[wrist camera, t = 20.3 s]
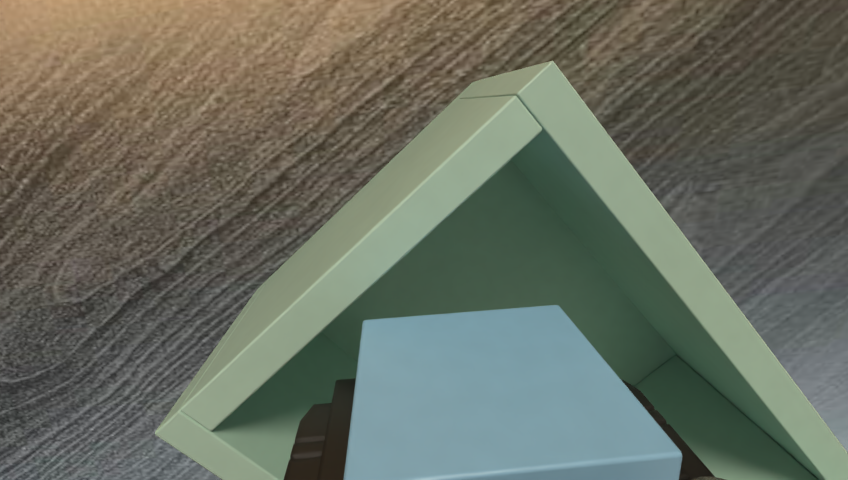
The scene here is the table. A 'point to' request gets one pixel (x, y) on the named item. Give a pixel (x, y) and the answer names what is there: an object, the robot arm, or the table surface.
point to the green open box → (506, 291)
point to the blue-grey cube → (496, 403)
